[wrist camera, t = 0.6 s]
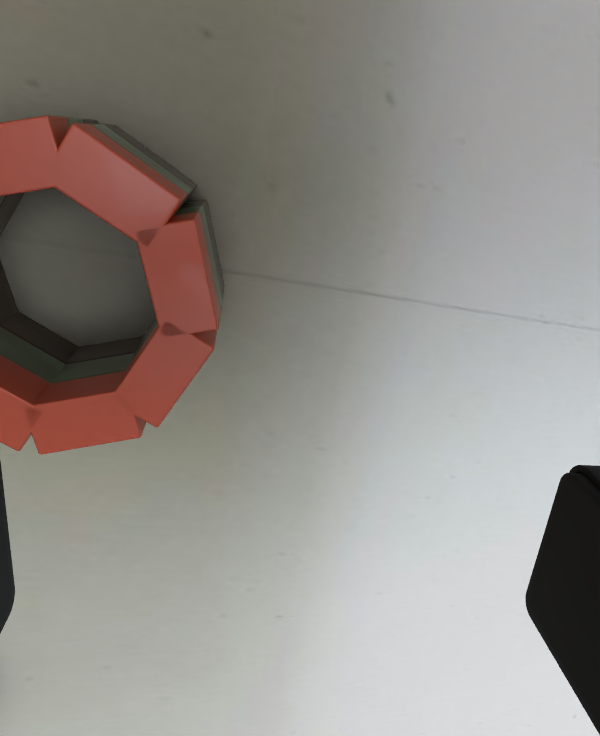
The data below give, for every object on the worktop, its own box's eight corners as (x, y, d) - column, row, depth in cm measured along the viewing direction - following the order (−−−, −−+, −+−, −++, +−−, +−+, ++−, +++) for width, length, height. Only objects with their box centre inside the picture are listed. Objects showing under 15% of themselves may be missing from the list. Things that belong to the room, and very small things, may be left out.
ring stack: (-93, 149, 22) (-161, 152, 19) (188, 105, 23) (176, 99, 19) (4, 401, 27) (-35, 445, 23) (240, 362, 27) (238, 398, 23)
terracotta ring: (-161, 152, 19) (-206, 155, 17) (176, 99, 19) (168, 96, 17) (-35, 445, 23) (-60, 472, 21) (238, 398, 23) (238, 421, 21)
